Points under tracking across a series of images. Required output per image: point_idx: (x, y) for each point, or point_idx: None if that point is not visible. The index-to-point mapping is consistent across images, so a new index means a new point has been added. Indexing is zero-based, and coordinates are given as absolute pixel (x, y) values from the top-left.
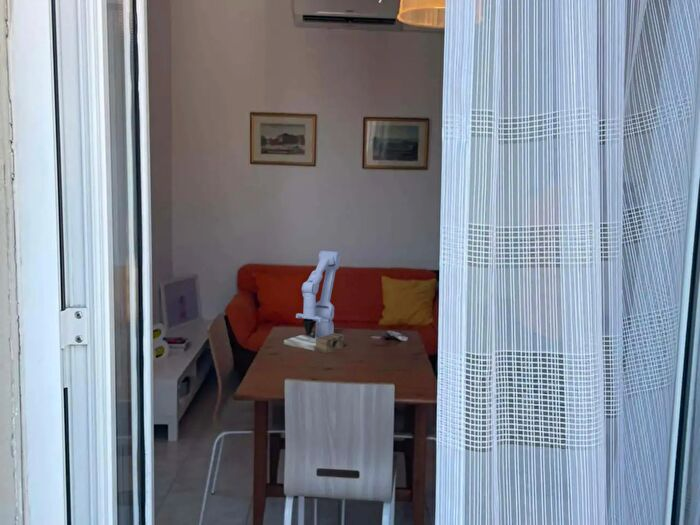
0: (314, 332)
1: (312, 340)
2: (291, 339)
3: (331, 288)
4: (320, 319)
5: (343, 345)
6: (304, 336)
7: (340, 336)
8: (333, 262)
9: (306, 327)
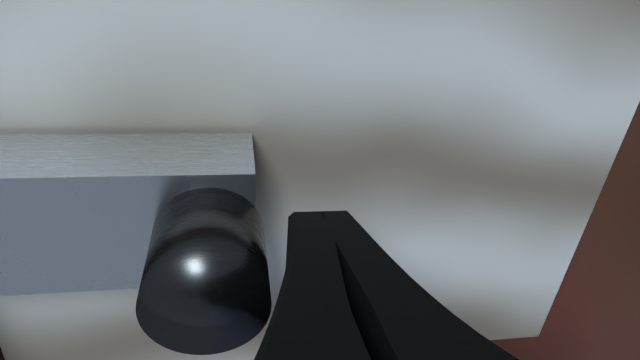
0: (142, 316)
1: (154, 148)
2: (593, 43)
3: None
4: None
5: None
6: (475, 303)
7: None
8: None
9: (380, 328)
